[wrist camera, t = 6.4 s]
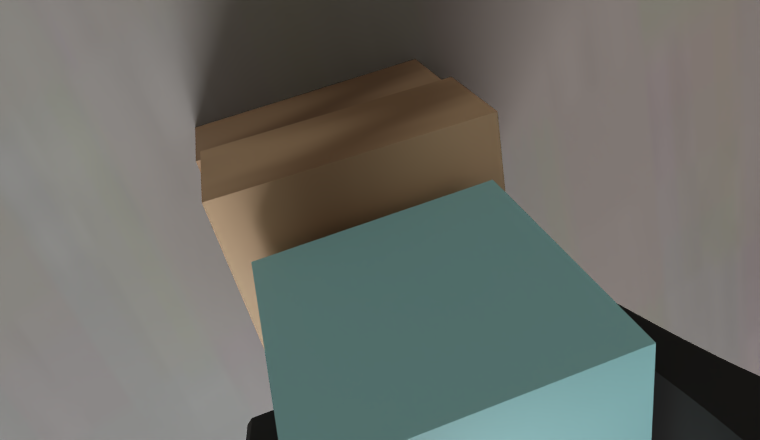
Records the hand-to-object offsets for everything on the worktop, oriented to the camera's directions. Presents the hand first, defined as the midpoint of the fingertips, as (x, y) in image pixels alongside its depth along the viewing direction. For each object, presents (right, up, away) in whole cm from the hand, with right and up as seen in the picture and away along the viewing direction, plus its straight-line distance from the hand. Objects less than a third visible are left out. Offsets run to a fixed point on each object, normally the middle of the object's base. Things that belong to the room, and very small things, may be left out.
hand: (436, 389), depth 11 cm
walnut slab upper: (-2, +3, +4) cm, 5 cm away
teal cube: (-1, +1, +2) cm, 2 cm away
